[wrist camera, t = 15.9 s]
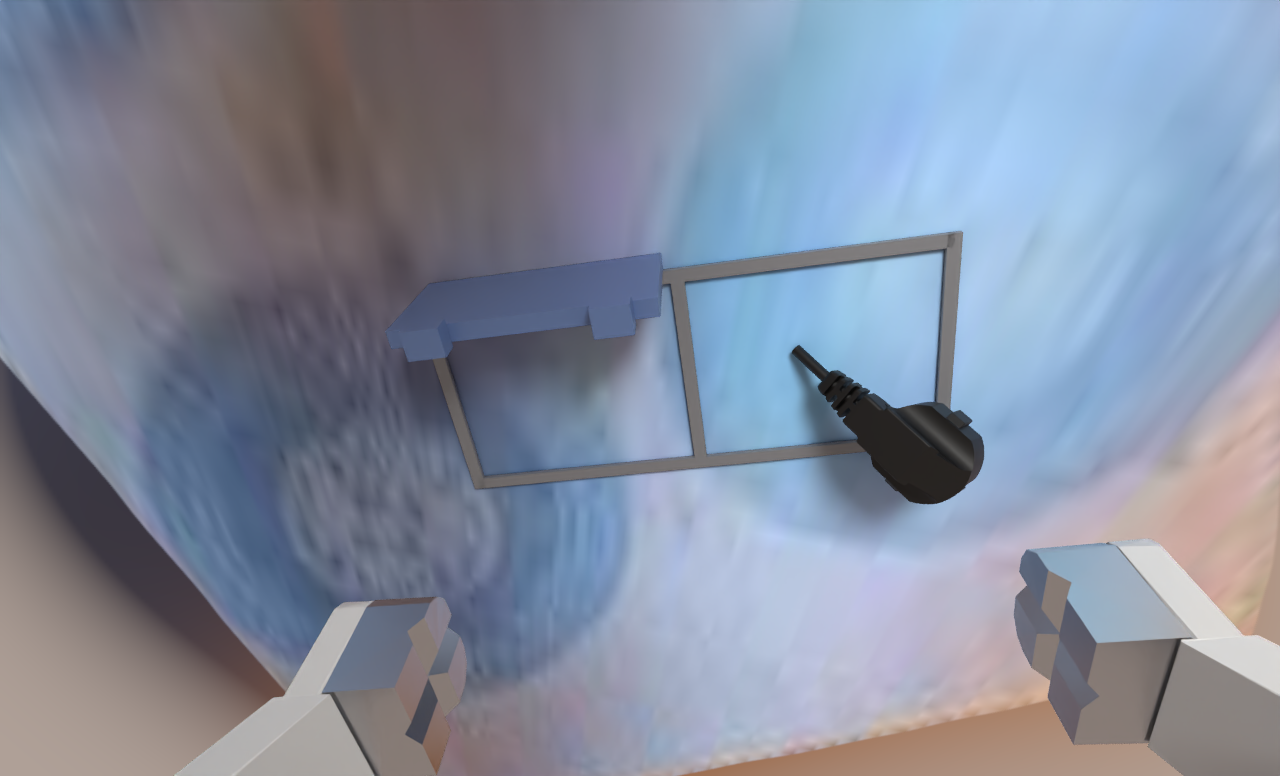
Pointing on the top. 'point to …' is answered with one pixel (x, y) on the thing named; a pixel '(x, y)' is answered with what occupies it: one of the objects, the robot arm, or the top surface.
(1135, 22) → the top surface
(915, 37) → the top surface
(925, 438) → the power plug
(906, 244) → the frame
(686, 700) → the top surface
